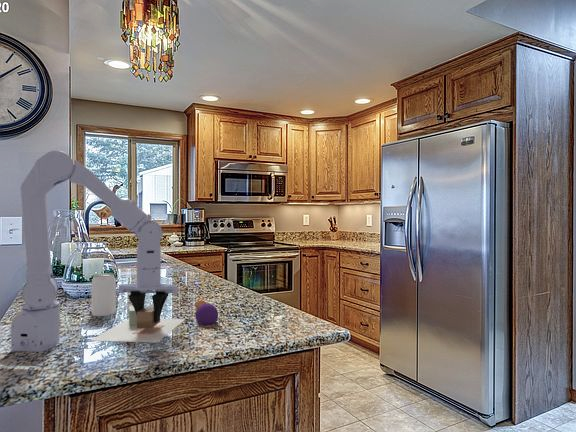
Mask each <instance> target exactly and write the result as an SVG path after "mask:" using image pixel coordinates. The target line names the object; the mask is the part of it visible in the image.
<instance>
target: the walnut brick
mask: <svg viewBox="0 0 576 432" xmlns="http://www.w3.org/2000/svg"><path fill="white" fill-rule="evenodd" d="M159 322H160V321H158V322H157V323H154V306H153V305H152V306H151V305H150V306H149V305H147V306H144V308H143V309H141V310H140V311H138V312H137V328H153V327H154V326H155V325H157V324H158V323H159Z"/></svg>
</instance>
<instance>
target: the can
mask: <svg viewBox="0 0 576 432" xmlns="http://www.w3.org/2000/svg"><path fill="white" fill-rule="evenodd" d="M116 285H117V281H116V276H115V273H110V272H107V273H105V272H103V273H95V274H93V278H92V279H91V315H92V316H93V317H106V316H112V315H115V314H116V312H117V311H116V310H117V289H116V288H117V286H116Z"/></svg>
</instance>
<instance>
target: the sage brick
mask: <svg viewBox="0 0 576 432" xmlns="http://www.w3.org/2000/svg"><path fill="white" fill-rule="evenodd" d="M128 319H129V326H137V315H136V312H135V309H134V307H133V305H129V306H128Z"/></svg>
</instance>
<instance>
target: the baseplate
mask: <svg viewBox="0 0 576 432" xmlns="http://www.w3.org/2000/svg"><path fill="white" fill-rule="evenodd" d="M185 321H186V319H185V318H160V322H159V323H158V324H157V325H155V326H154V327H153V328H137V326H129V318H128V319H125V320H123V321H122V322H120V323H118V324H116V325H115V326H113V327H111V328H110V329H108V330H106V331H104V332H103V333H100V334H98V335H97V336H96V337H93V338H92V339H90V340H89V342H90V341H94V342H121V343H122V342H126V343H128V342H131V343H132V342H133V343H158V342H160V341H161V340H162V339H164V337H166V336H167V335H168V334H170V333H171V332H172V331H173V330H174V329H176V328H177V327H178V326H179V325H180V324H182V323H183V322H185Z"/></svg>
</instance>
